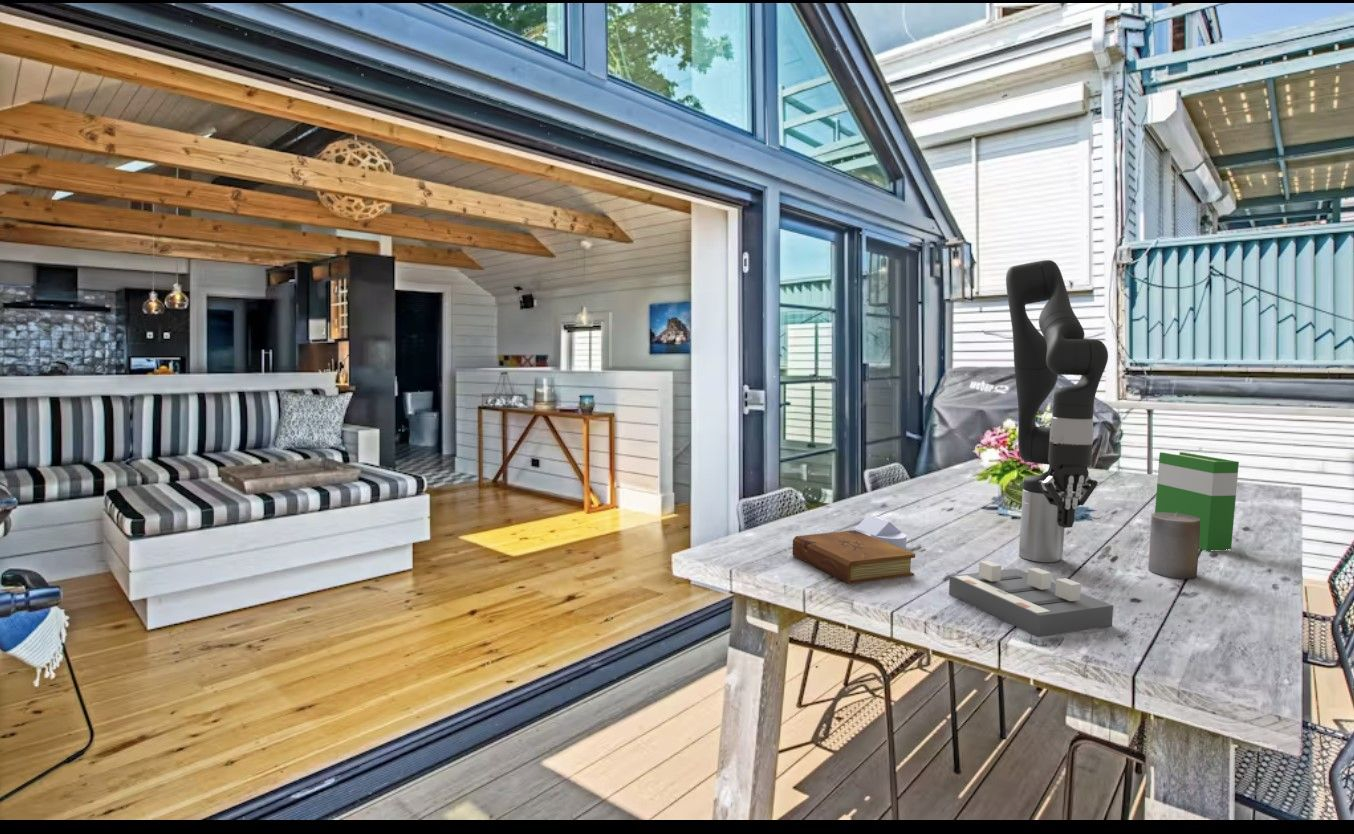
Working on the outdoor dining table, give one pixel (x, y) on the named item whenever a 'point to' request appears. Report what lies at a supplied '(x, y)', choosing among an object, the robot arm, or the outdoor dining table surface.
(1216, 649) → the outdoor dining table surface
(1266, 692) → the outdoor dining table surface
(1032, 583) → the switch tab
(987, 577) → the switch tab
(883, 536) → the wedge on round base
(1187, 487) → the hardback book
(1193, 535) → the pillar candle
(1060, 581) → the switch tab
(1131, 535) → the outdoor dining table surface
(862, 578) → the diary
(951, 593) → the panel
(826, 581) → the outdoor dining table surface
